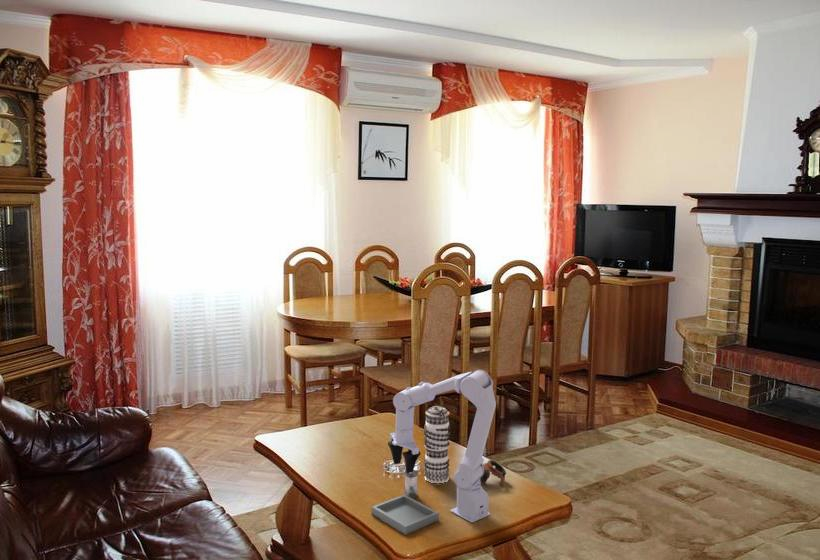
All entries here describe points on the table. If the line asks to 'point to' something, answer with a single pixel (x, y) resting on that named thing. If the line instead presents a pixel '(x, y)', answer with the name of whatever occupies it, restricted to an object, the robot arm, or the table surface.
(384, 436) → the table surface
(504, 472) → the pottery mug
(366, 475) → the table surface
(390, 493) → the table surface
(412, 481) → the shaker
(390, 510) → the tray
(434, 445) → the decorative candle
